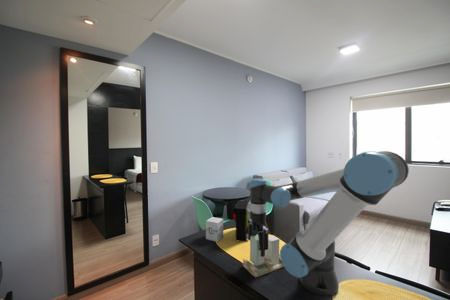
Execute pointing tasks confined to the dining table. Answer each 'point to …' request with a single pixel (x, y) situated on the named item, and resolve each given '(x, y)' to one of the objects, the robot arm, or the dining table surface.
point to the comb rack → (262, 267)
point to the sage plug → (255, 250)
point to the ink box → (214, 229)
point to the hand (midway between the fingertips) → (257, 259)
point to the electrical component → (242, 219)
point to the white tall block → (272, 250)
